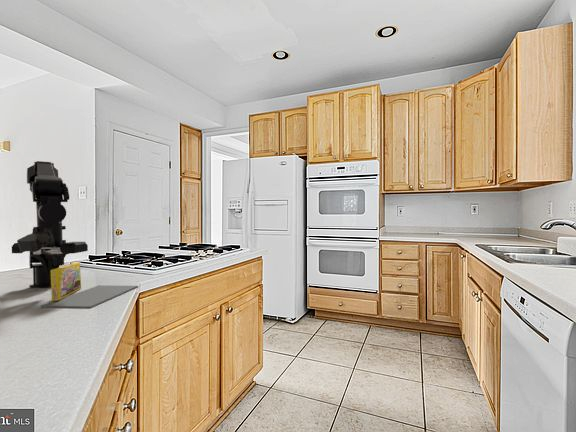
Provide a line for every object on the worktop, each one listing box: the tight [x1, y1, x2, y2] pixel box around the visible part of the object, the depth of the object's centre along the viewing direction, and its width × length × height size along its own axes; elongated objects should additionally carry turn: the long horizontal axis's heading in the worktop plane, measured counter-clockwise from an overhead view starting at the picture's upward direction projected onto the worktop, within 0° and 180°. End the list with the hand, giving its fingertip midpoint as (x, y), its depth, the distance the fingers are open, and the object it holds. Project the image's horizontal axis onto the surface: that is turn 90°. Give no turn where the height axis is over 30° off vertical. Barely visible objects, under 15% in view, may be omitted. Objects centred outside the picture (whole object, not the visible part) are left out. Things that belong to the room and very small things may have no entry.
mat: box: [40, 284, 139, 309], centre depth 92 cm, size 13×22×1 cm, turn 176°
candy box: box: [50, 262, 82, 302], centre depth 93 cm, size 16×2×8 cm, turn 15°
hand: (51, 277), depth 93 cm, fingers closed
